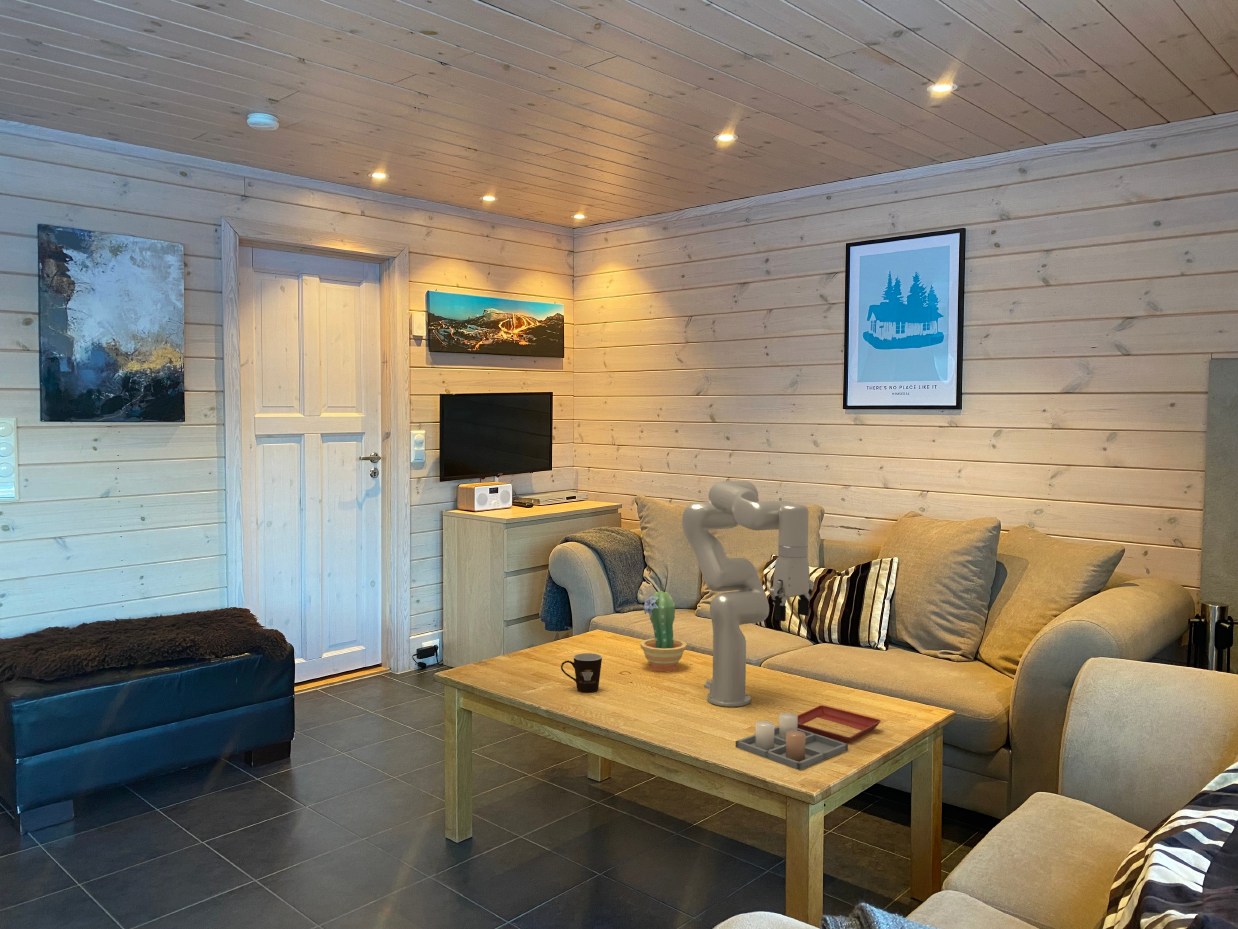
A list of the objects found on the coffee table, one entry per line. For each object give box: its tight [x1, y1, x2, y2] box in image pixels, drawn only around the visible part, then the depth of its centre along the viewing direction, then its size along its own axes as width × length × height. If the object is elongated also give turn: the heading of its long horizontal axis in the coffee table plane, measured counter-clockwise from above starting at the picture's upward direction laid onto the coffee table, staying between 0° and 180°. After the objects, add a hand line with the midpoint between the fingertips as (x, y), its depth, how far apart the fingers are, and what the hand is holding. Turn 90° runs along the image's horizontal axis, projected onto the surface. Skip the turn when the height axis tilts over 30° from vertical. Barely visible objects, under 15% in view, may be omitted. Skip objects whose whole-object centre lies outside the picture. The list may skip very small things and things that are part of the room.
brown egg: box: [786, 731, 806, 762], centre depth 218 cm, size 5×5×6 cm
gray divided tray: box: [735, 725, 849, 771], centre depth 225 cm, size 19×19×2 cm
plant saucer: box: [797, 704, 882, 744], centre depth 241 cm, size 18×18×3 cm
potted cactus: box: [639, 590, 688, 673], centre depth 299 cm, size 15×15×25 cm
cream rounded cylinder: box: [778, 712, 798, 740], centre depth 231 cm, size 5×5×6 cm
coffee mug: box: [560, 652, 603, 694], centre depth 275 cm, size 12×9×10 cm
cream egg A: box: [754, 720, 776, 751], centre depth 225 cm, size 5×5×6 cm
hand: (791, 617), depth 238 cm, fingers open, 9 cm apart
